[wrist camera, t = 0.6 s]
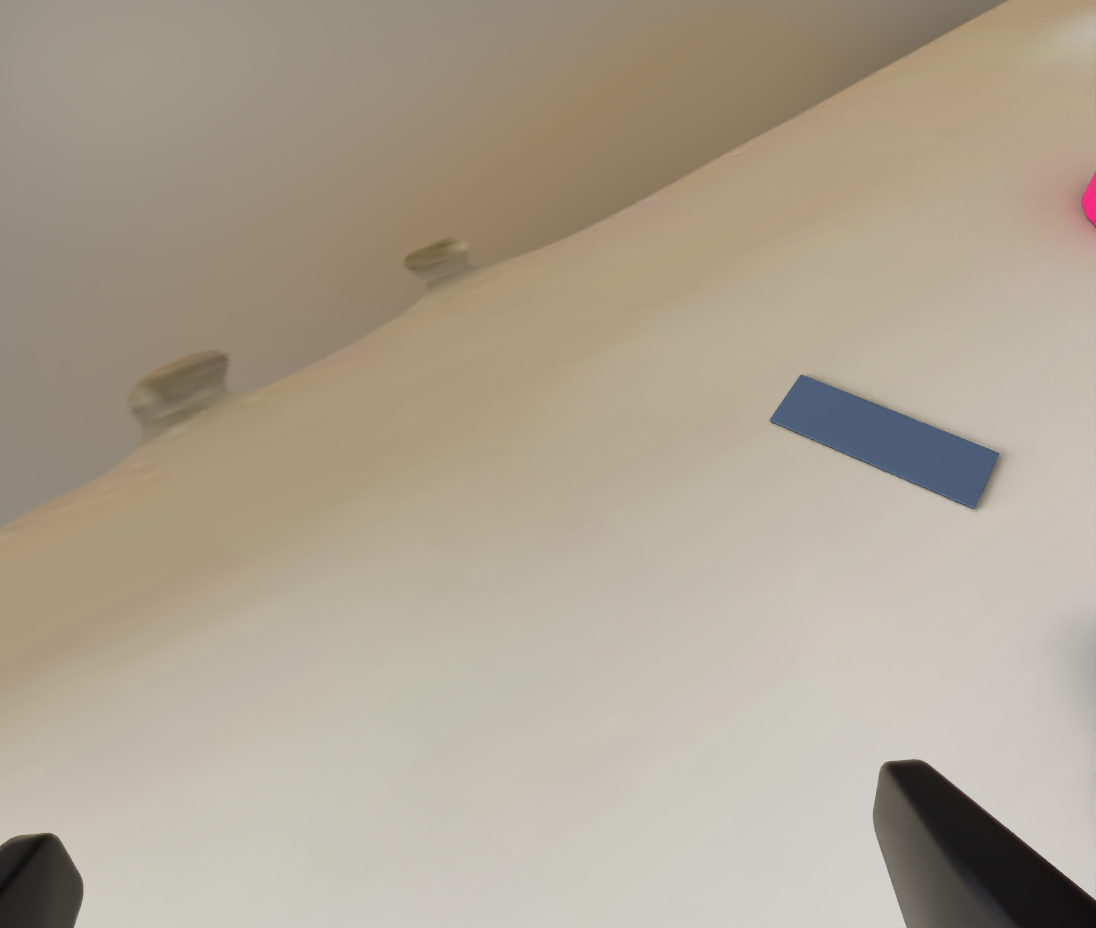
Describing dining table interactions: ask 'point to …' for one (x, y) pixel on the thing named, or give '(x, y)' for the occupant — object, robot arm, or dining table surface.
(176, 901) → the dining table surface
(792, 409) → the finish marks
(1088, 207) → the pepper mill
